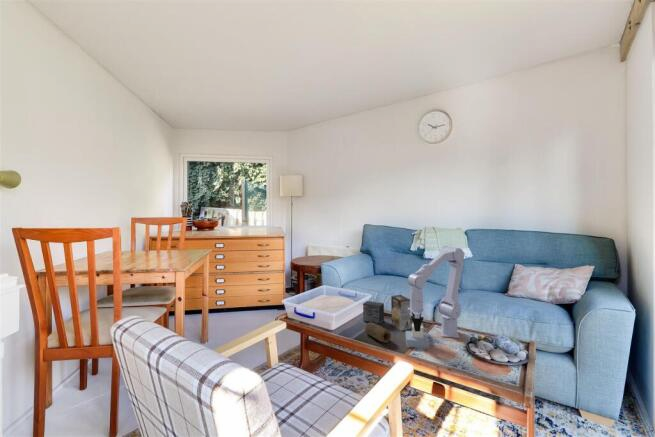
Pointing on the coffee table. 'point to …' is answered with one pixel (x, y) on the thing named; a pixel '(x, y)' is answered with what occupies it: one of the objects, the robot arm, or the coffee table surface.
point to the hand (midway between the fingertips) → (417, 327)
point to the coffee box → (400, 312)
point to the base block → (417, 340)
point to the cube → (417, 334)
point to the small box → (373, 312)
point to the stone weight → (378, 332)
